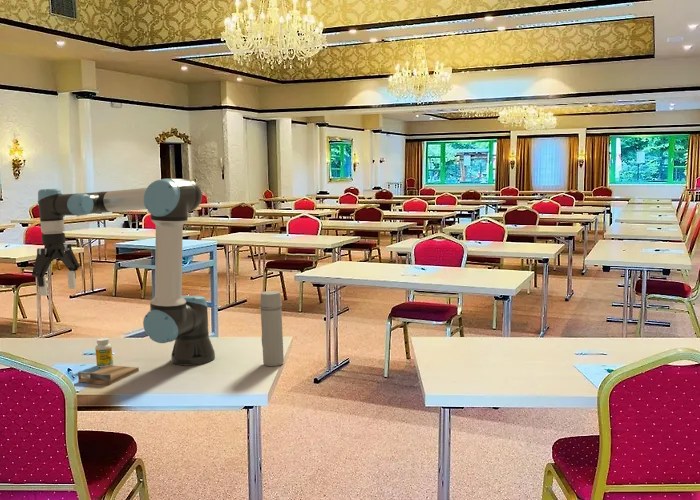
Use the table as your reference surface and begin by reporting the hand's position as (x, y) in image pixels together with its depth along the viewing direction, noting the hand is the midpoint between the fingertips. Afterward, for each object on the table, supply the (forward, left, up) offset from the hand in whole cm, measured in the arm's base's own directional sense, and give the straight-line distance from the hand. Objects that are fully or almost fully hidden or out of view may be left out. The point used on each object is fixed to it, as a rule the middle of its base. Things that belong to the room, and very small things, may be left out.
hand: (58, 292), depth 233 cm
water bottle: (-75, -15, -26) cm, 81 cm away
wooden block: (-28, +11, -26) cm, 39 cm away
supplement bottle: (-18, +1, -26) cm, 32 cm away
